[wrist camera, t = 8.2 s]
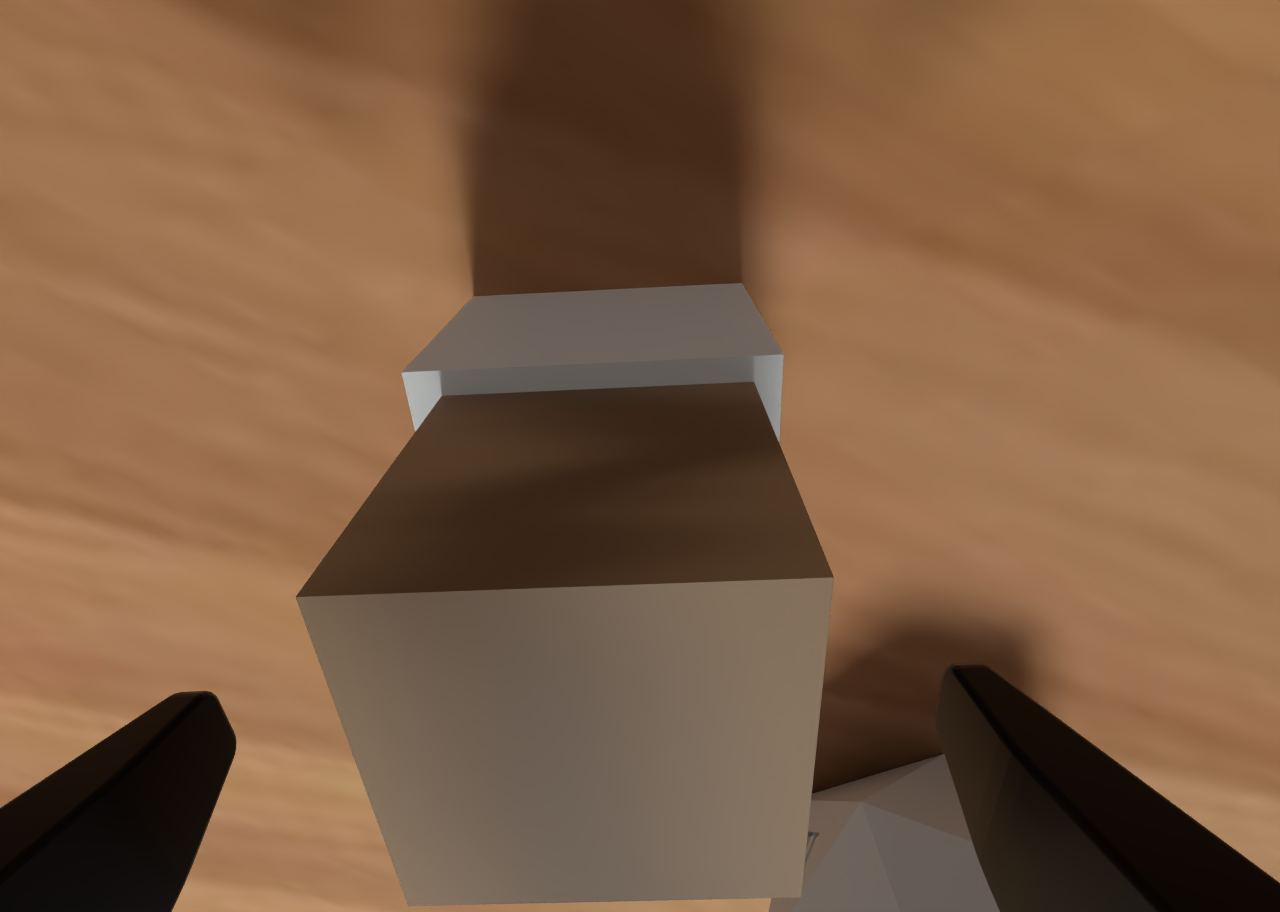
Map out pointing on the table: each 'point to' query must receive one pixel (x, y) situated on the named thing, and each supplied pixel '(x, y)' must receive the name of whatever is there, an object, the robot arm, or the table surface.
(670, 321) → the grey block
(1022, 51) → the table surface
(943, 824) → the die
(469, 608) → the brown cube
